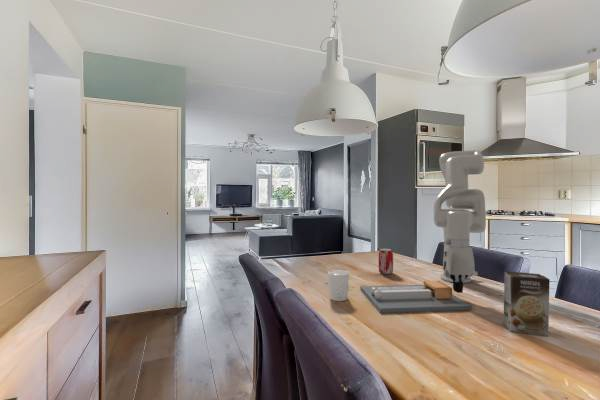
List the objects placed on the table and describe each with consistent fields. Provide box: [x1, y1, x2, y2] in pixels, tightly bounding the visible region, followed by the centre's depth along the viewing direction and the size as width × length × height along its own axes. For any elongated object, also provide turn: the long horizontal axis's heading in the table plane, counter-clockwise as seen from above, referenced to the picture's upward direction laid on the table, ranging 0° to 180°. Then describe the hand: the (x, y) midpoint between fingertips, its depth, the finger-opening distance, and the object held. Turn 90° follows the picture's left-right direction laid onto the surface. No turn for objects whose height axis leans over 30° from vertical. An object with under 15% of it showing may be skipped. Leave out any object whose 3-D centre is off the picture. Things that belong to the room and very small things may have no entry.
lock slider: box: [423, 280, 453, 299], centre depth 110 cm, size 6×9×4 cm, turn 4°
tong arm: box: [371, 286, 426, 296], centre depth 111 cm, size 21×3×2 cm, turn 94°
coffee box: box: [503, 270, 551, 337], centre depth 85 cm, size 9×6×16 cm
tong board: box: [359, 284, 473, 314], centre depth 110 cm, size 32×24×4 cm
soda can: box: [378, 247, 394, 275], centre depth 147 cm, size 7×7×12 cm
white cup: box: [327, 269, 350, 302], centre depth 111 cm, size 8×8×10 cm
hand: (457, 291), depth 110 cm, fingers closed
